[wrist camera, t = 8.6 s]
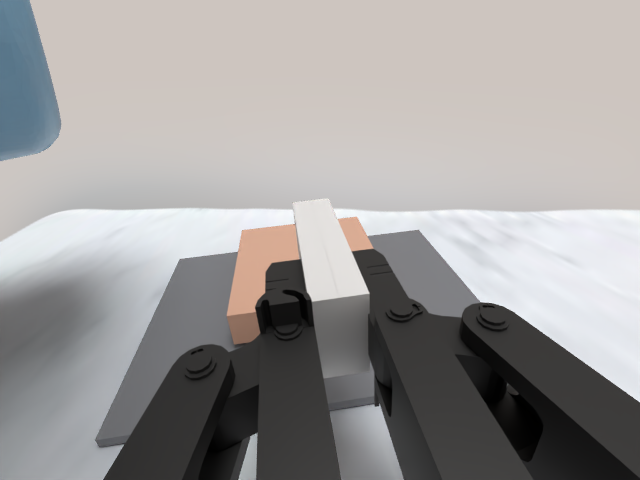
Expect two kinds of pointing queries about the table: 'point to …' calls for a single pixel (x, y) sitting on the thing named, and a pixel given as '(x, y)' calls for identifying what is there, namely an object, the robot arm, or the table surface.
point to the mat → (213, 328)
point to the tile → (256, 259)
